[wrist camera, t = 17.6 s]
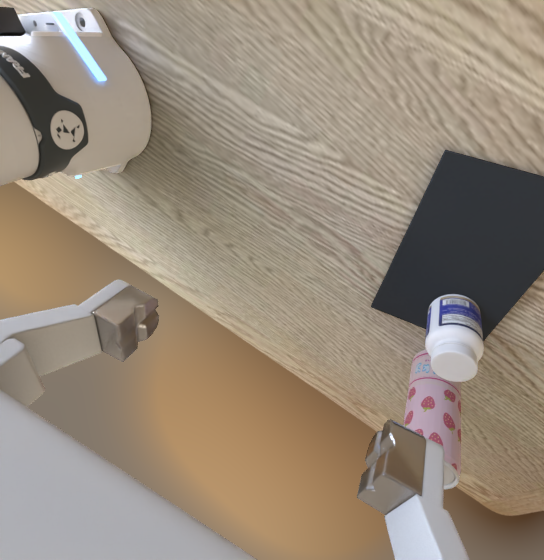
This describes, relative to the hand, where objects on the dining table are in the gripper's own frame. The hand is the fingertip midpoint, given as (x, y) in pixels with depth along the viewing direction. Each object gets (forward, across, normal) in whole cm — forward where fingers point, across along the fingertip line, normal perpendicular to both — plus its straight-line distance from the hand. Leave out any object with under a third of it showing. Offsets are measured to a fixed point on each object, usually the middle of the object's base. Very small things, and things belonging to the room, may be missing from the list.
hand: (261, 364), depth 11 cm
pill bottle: (+29, -14, +14) cm, 35 cm away
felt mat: (+29, -11, +8) cm, 32 cm away
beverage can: (+29, -16, +23) cm, 41 cm away
